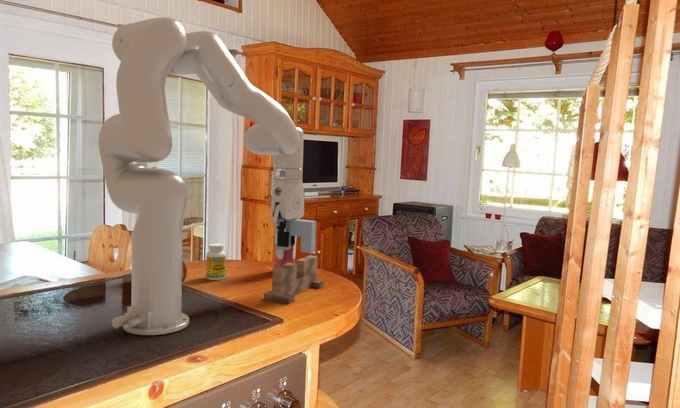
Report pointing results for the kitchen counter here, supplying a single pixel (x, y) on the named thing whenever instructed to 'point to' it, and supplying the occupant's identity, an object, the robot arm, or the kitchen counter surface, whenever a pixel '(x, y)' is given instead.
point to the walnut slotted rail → (293, 280)
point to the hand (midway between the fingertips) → (286, 244)
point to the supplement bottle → (216, 262)
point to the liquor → (284, 253)
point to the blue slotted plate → (302, 234)
